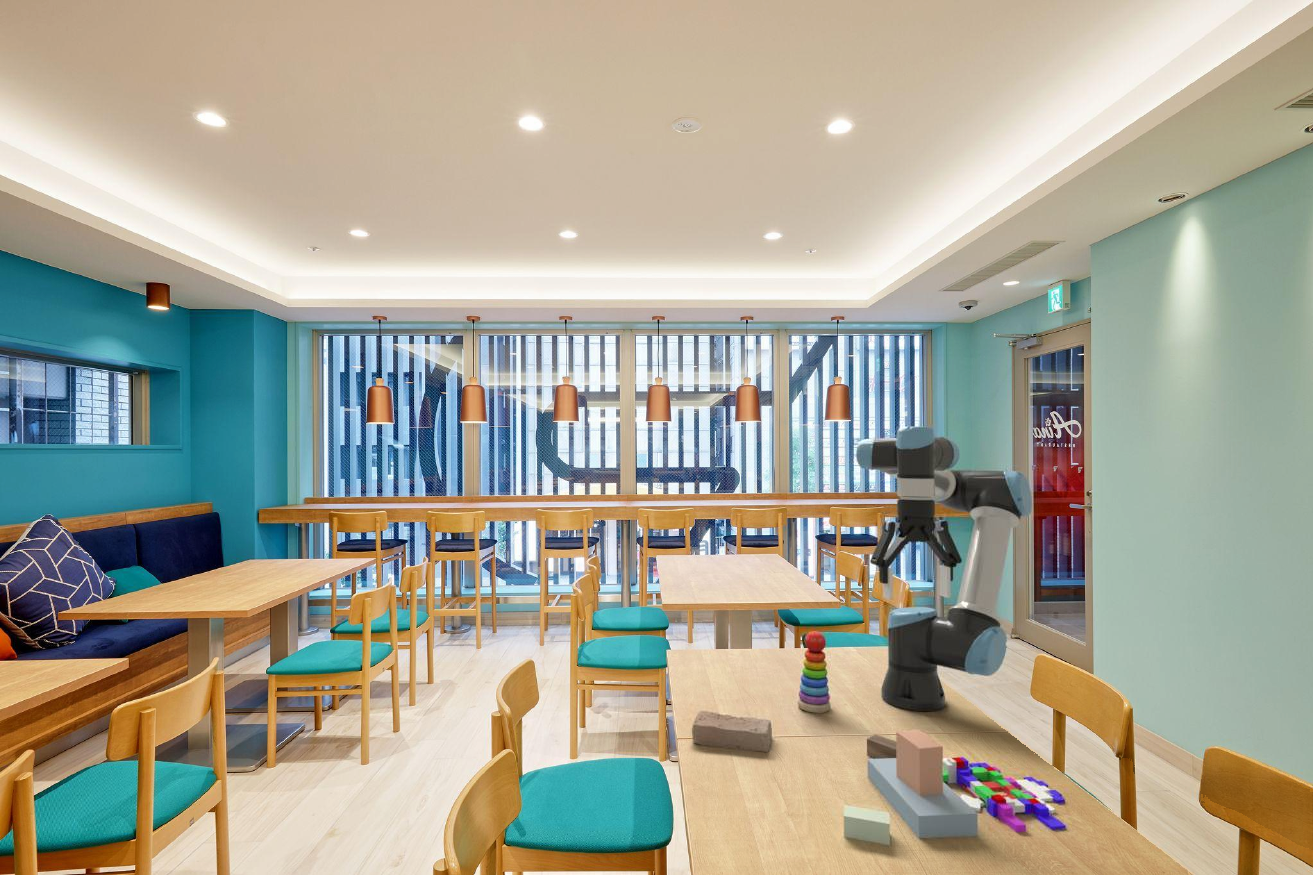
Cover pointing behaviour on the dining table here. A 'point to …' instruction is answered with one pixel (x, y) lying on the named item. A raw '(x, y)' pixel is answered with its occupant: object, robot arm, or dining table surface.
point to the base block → (923, 804)
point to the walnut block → (881, 747)
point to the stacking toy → (814, 676)
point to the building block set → (1003, 804)
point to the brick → (732, 731)
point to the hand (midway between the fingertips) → (916, 597)
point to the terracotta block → (919, 762)
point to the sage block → (867, 825)
